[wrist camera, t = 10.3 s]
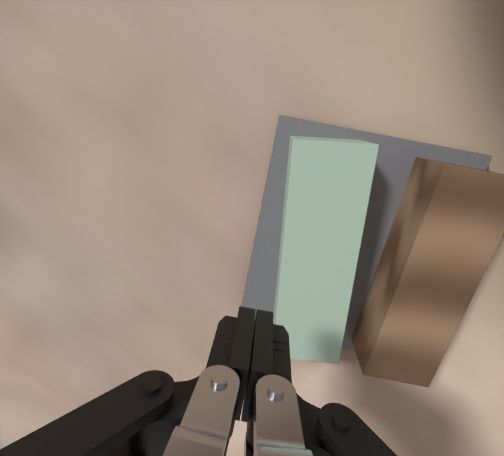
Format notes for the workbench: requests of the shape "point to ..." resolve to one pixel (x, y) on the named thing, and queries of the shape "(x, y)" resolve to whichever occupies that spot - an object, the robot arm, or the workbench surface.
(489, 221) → the walnut board
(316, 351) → the plank
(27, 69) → the workbench surface
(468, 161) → the base
